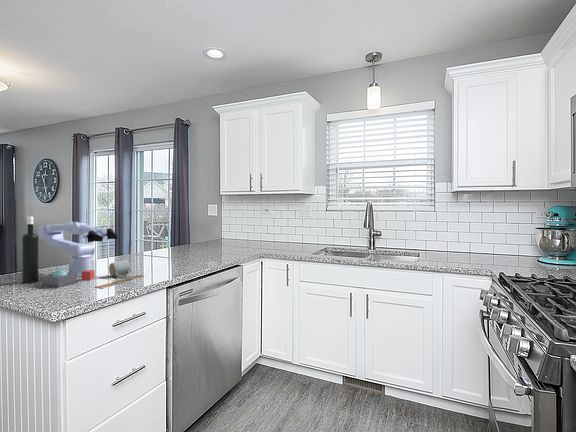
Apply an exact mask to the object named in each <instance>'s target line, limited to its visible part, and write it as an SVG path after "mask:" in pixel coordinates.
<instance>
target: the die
mask: <svg viewBox="0 0 576 432" xmlns="http://www.w3.org/2000/svg"><path fill="white" fill-rule="evenodd" d="M95 271H96V270H93V269H91V270H85V271H83V272H82V276H81V281H92V280H95V277H96V276H95V275H96V273H95Z"/></svg>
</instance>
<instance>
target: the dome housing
mask: <svg viewBox="0 0 576 432" xmlns="http://www.w3.org/2000/svg"><path fill="white" fill-rule="evenodd" d="M41 278H42V279H41V281H42V282H41V283H42V285H41V286H42V287H47V288H48V287H50V288H59V289H60V288H63V287H67V286H71V285H74V284H78V276H77V273H69V272H68V275H64V276H60V277H58V276H52V273H48V274H45V275H44V274H43V275H42V277H41Z"/></svg>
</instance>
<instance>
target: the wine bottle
mask: <svg viewBox="0 0 576 432" xmlns="http://www.w3.org/2000/svg"><path fill="white" fill-rule="evenodd" d="M26 217H27V219H26V220H27V223H26V224H27V233H24V234H23V235H22V237H21V241H22V242H21V244H22V245H21V246H22V247H21V253H22V255H21V258H22V259H21V261H22V262H21V263H22V265H21V268H22V269H21V270H22V271H21V272H22V273H21V274H22V276H21V278H22V280H21V281H22V284H34V283H38V282H39V235H38V234H37V233H34V216H26Z"/></svg>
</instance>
